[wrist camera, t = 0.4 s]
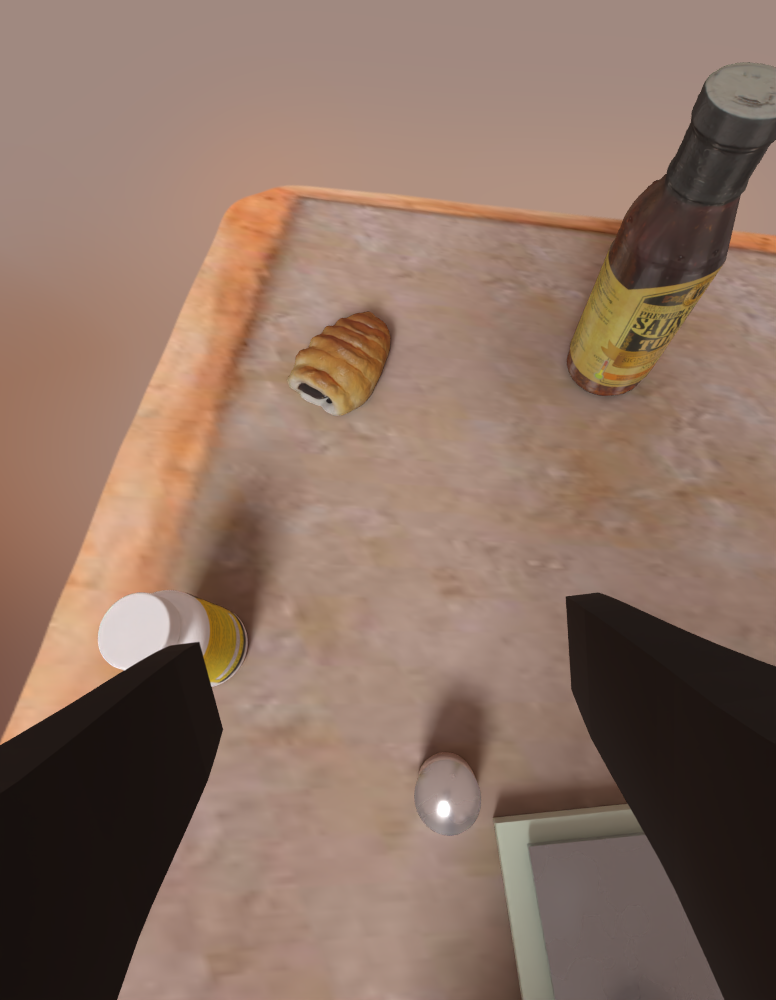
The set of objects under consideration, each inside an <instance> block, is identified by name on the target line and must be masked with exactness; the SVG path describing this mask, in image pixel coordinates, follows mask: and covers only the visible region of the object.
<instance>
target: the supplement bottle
mask: <svg viewBox="0 0 776 1000" xmlns="http://www.w3.org/2000/svg"><path fill="white" fill-rule="evenodd" d="M194 642H200V646H201V650H202V653H203V657H204V661H205V664H206V668H207V672H208V676H209V679H210V683H211V687H212V686H216V685H219V684H221V683H223V682H225V681H227V680H228V679H230V678H231V677H232V676H233V675H234V674H235V673H236V672H237V671H238V669H239V668H240V666H241V665H242V663H243V661H244V659H245V656H246V652H247V646H248V638H247V633H246V630H245V627H244V625H243V623H242V621H241V620H240V619H239V618H238V616H236V615H235V614H234V613H233V612H231V611H229V610H227V609H225V608H223V607H220V606H218V605H215V604H213V603H210V602H208V601H205V600H202V599H200V598H198V597H195V596H193V595H190V594H188V593H184V592H181V591H176V590H163V591H158V592H154V593H151V594H150V593H142V592H141V593H133V594H130V595H127V596H125V597H123V598H121V599H120V600H118V601H117V602H116V603H114V604H113V605H112V606H111V607H110V608H109V610H108V611H107V612H106V614H105V615H104V617H103V619H102V621H101V624H100V627H99V632H98V645H99V649H100V652H101V654H102V656H103V657H104V659H105V660H106V661H107V662H108V663H109V664H111V665H112V666H114V667H116V668H118V669H122V670H126V669H128V668H129V667H131V666H132V665H134V664H136V663H137V662H139V661H141V660H143V659H144V658H146V657H148V656H150V655H151V654H153V653H155V652H157V651H159V650H161V649H163V648H165V647H168V646H170V645H178V644H186V643H194Z"/></svg>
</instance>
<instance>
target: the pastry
mask: <svg viewBox="0 0 776 1000" xmlns="http://www.w3.org/2000/svg"><path fill="white" fill-rule="evenodd" d="M390 339H391V337H390V334H389V330H388V328H387V326H386V324H385V323H384V322H383V321H381V320H380V319H379V318H377V317H375V315H374V314H373V313H371V312H369V311H368V312H364V313H357V314H354V315H352V316H349V317H347V318H340V319H339V320H338V321H337V322H336V324H335V325H334V326H327V327H325V329H324V330H323V332H322V334H320V335H317V336H315V337H313V338H312V339H311V342H310V345H309V348H307V349H303V350H301V351H299V353H298V354H297V356H296V359H295V365H294V369H293V370H292V372H291V374H290V376H289V377H288V384H289V386H290V388H291V389H293V390H295V391H296V392H297V393H299V394H300V395H301V397H302V398H303V399H304V400H306V401H307V402H310V403H313V404H315V405H319V406H321V407H322V408H323V409H324V410H325V411H326V412H327V413H330V414H332V415H334V416H340V415H344V414H346V413H349V412H351V411H352V410H354V409H356V408H358V407H360V406H361V405H363V404H364V403H365V402H366V400H367V399H368V398H369V396H370V395H371V394H372V392H373V390H374V387H375V386H376V384H377V382H378V379H379V377H380V375H381V373H382V370H383V367H384V364H385V361H386V359H387V356H388V353H389V350H390Z"/></svg>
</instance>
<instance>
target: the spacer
mask: <svg viewBox="0 0 776 1000" xmlns="http://www.w3.org/2000/svg"><path fill="white" fill-rule="evenodd" d="M414 798H415V805H416V809H417V812H418V814H419V816H420V818H421V819H422V821H423V822H424V823H425V824H426V825H427V827H429V828H430V829H431V830H433V831H434V832H436V833H439V834H442V835H447V836H452V835H457V834H460V833H463V832H464V831H466V830H467V829H469V828H470V827H471V826H472V825H473V823H474V822H475V820H476V819H477V817H478V814H479V811H480V807H481V793H480V788H479V785H478V783H477V780H476V778H475V776H474V773H473V771H472V769H471V767H470V766H469V764H468V763H467V762H466V761H465V760H464V759H463V758H461V757H460V756H458V755H456V754H454V753H450V752H440V753H436V754H434V755H432V756H430V757H429V758H428V759H427V760H426V761H425V762H424V763H423V765H422V766H421V768H420V771H419V774H418V778H417V782H416V786H415V793H414Z"/></svg>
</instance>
